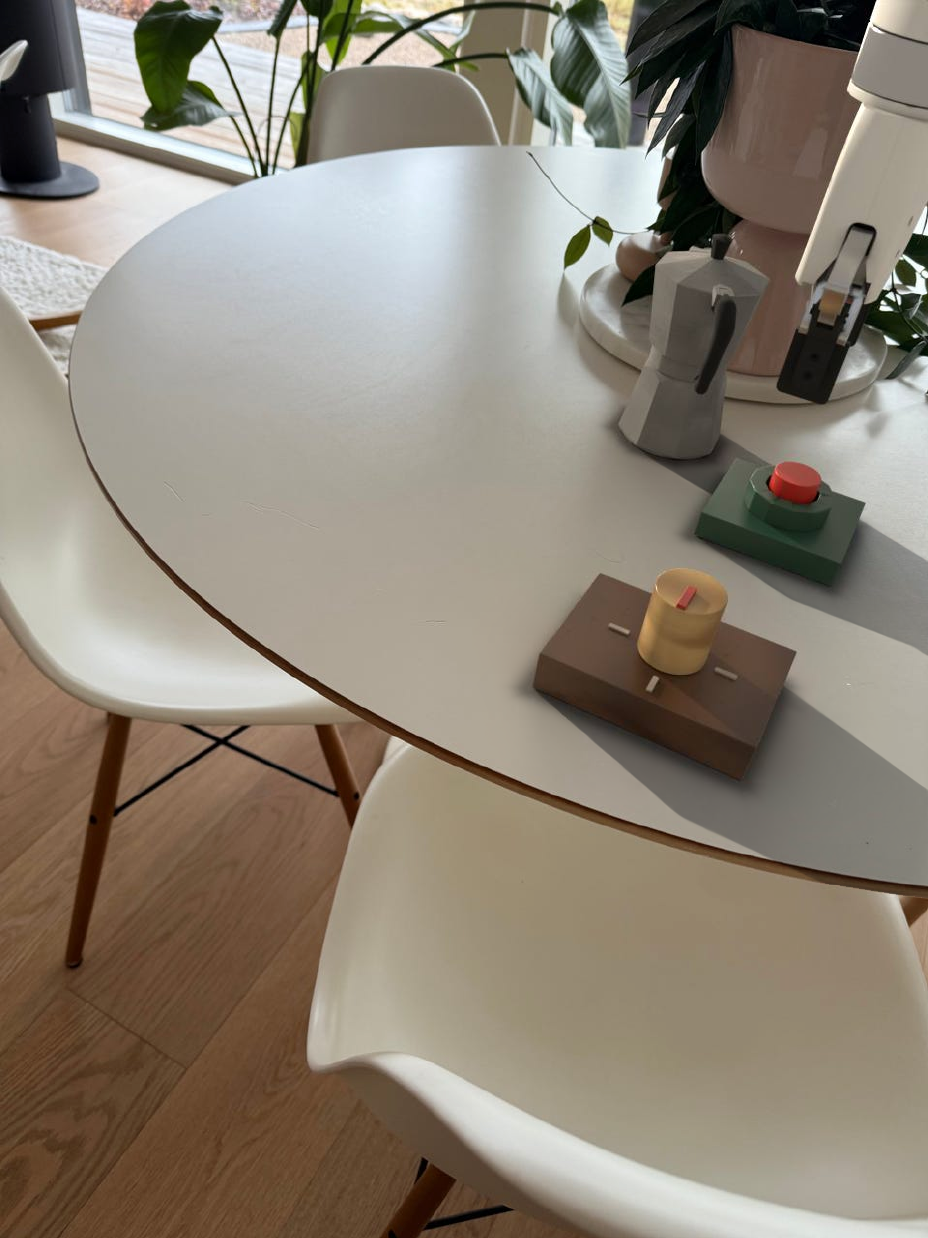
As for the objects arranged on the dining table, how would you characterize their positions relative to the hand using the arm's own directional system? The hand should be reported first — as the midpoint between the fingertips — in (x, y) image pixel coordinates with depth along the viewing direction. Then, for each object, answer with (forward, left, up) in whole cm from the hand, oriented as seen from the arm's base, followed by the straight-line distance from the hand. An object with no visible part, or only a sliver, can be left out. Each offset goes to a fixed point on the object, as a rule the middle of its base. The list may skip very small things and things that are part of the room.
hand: (816, 366), depth 65 cm
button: (-1, -8, -14) cm, 16 cm away
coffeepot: (+11, -16, -17) cm, 26 cm away
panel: (+1, +15, -17) cm, 23 cm away
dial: (+1, +15, -14) cm, 21 cm away
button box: (-1, -8, -17) cm, 19 cm away
